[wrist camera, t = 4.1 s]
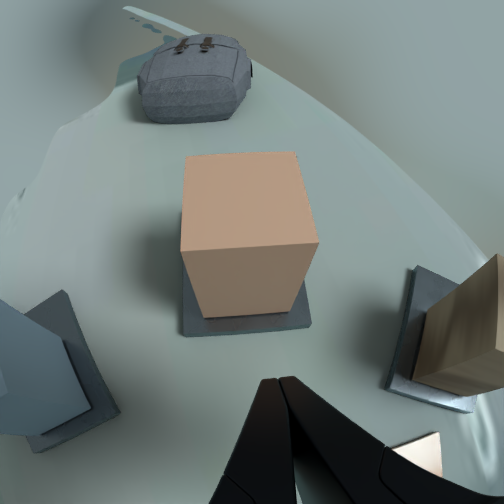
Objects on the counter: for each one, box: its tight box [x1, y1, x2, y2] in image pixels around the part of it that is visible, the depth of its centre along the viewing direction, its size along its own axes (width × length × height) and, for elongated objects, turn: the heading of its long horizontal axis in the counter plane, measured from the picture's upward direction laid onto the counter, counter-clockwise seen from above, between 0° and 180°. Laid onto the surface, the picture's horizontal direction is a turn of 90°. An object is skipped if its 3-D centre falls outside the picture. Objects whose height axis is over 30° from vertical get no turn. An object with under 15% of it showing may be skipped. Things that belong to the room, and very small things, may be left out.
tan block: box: [180, 152, 319, 318], centre depth 18 cm, size 6×6×9 cm
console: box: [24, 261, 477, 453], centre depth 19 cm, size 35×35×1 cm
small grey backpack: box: [137, 34, 253, 124], centre depth 35 cm, size 15×8×20 cm
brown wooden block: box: [412, 254, 504, 397], centre depth 15 cm, size 6×6×9 cm
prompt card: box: [391, 432, 442, 477], centre depth 14 cm, size 9×9×1 cm
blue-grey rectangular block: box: [0, 299, 91, 436], centre depth 13 cm, size 6×6×9 cm
